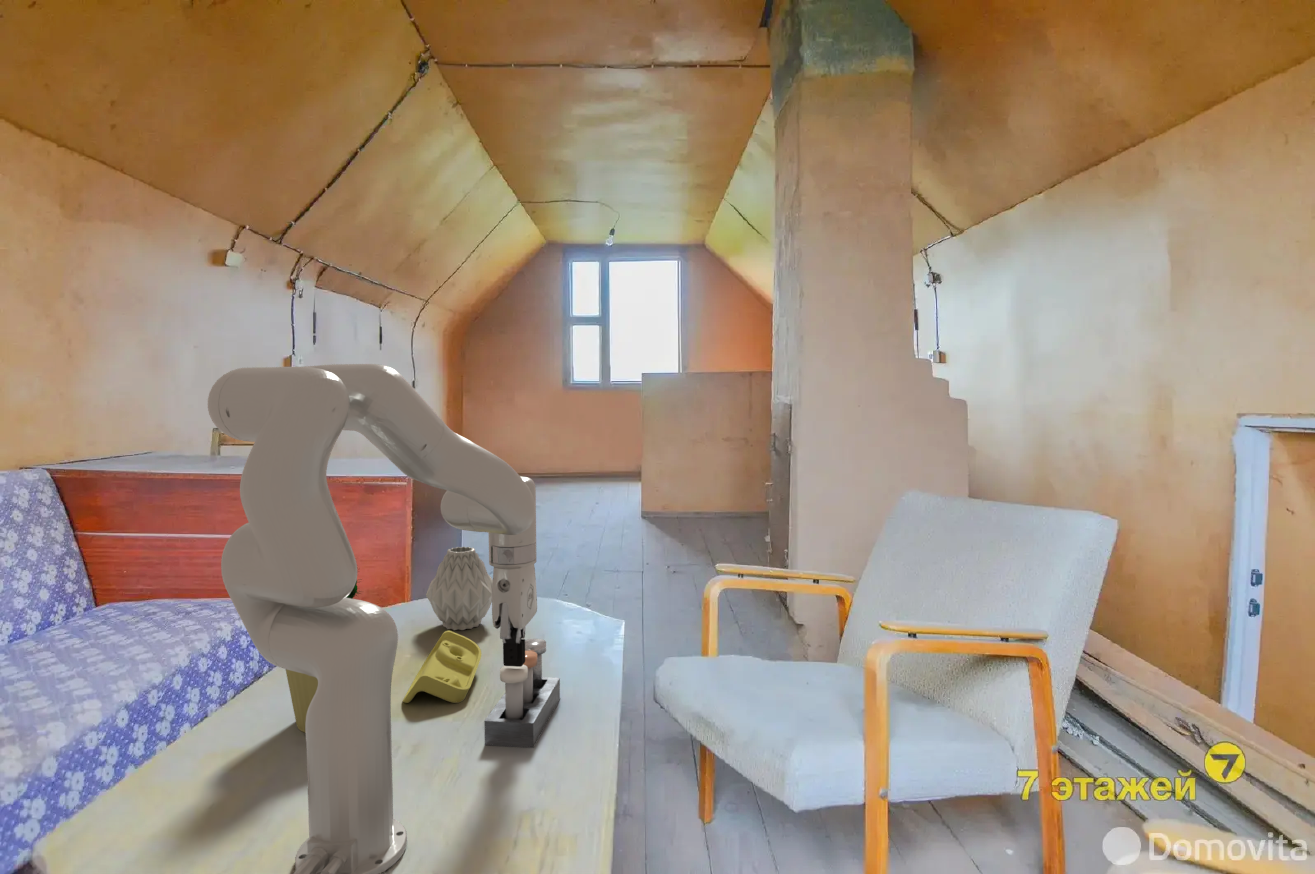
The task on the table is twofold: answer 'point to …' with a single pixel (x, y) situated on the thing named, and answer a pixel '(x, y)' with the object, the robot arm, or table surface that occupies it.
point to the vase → (461, 589)
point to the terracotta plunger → (529, 676)
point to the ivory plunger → (514, 689)
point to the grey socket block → (533, 721)
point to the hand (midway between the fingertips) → (514, 664)
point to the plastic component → (447, 669)
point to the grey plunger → (539, 648)
